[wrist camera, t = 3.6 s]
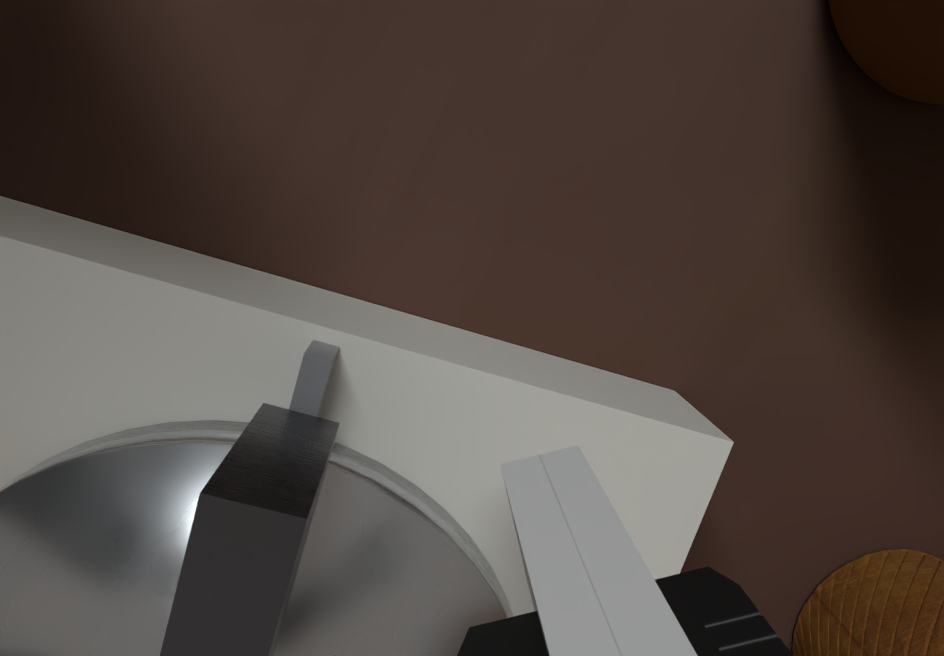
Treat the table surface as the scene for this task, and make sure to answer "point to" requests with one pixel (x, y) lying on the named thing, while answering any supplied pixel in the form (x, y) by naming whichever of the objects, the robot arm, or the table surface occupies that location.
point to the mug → (896, 44)
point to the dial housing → (326, 383)
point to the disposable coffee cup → (876, 608)
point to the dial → (233, 549)
